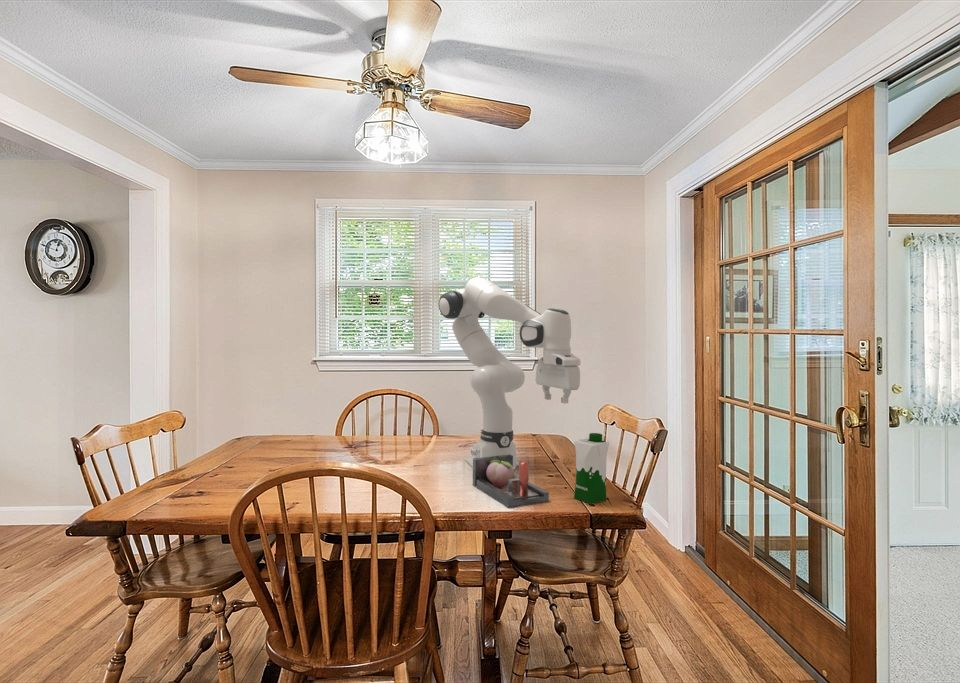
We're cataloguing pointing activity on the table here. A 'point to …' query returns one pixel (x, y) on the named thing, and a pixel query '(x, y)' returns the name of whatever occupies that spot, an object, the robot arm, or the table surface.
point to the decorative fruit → (500, 473)
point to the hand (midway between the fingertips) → (556, 401)
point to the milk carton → (591, 469)
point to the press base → (487, 487)
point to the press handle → (521, 484)
